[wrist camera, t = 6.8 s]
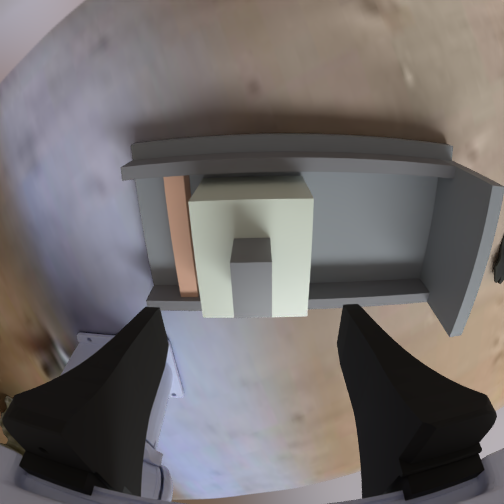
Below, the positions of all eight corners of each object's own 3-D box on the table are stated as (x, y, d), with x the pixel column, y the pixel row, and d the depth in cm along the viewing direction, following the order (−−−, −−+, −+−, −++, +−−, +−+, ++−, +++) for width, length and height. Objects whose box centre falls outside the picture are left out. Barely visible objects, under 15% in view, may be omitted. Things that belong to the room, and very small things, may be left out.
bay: (160, 298, 25) (135, 360, 19) (135, 143, 19) (85, 167, 13) (421, 291, 24) (456, 346, 18) (447, 144, 18) (507, 169, 12)
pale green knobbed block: (212, 277, 23) (196, 346, 16) (203, 178, 19) (176, 221, 13) (299, 275, 22) (312, 345, 16) (302, 175, 19) (323, 217, 13)
